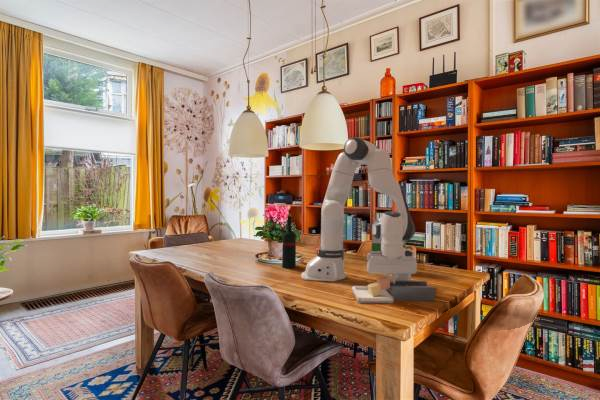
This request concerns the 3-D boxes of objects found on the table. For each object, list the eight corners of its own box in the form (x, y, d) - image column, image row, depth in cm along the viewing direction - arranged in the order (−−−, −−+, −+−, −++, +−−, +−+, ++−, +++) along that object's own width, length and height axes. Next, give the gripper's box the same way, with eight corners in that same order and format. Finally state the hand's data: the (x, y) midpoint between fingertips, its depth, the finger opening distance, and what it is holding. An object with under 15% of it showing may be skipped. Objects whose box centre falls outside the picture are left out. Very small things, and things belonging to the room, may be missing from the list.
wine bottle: (298, 265, 197) (299, 213, 196) (293, 268, 187) (294, 215, 186) (285, 264, 199) (286, 213, 198) (280, 267, 189) (280, 214, 188)
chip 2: (381, 290, 137) (379, 280, 137) (378, 287, 141) (376, 278, 141) (390, 287, 138) (388, 278, 138) (386, 285, 142) (384, 276, 141)
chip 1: (381, 294, 138) (372, 296, 137) (378, 291, 142) (369, 293, 141) (380, 284, 137) (370, 287, 137) (376, 282, 141) (367, 284, 141)
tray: (358, 302, 132) (358, 297, 132) (352, 290, 148) (352, 286, 148) (393, 303, 132) (393, 298, 132) (383, 290, 148) (383, 286, 148)
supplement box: (407, 287, 154) (408, 259, 154) (391, 284, 158) (391, 257, 157) (411, 283, 160) (412, 257, 160) (396, 281, 164) (396, 255, 164)
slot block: (392, 300, 135) (392, 286, 135) (385, 292, 145) (386, 280, 145) (434, 301, 135) (434, 287, 135) (425, 293, 145) (425, 280, 145)
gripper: (368, 252, 136) (367, 286, 137) (418, 252, 136) (418, 286, 137) (365, 249, 143) (364, 282, 143) (413, 249, 143) (413, 282, 143)
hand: (391, 284), depth 140 cm, fingers closed
